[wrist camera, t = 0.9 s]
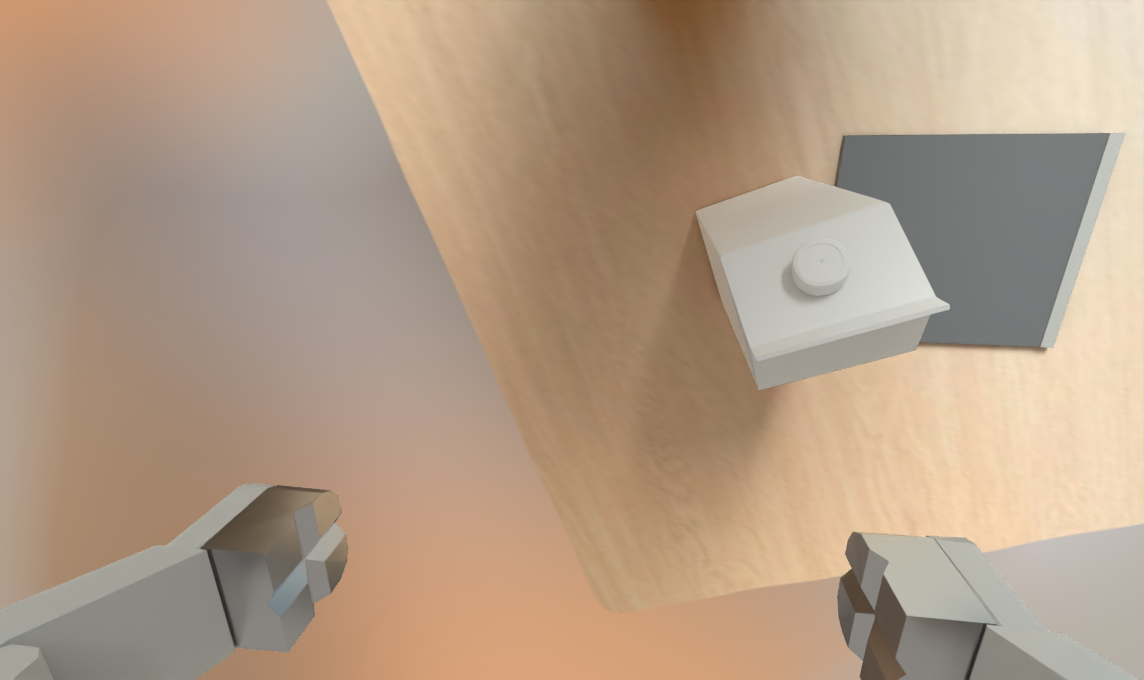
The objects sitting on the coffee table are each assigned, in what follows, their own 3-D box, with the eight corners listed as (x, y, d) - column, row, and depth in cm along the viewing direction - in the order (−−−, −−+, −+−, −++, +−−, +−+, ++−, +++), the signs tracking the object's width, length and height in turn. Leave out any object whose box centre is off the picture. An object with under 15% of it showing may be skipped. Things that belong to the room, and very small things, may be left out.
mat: (843, 135, 35) (846, 135, 35) (1118, 133, 33) (1125, 133, 33) (811, 336, 40) (813, 338, 40) (1048, 345, 38) (1053, 347, 38)
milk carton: (820, 271, 38) (963, 389, 21) (721, 301, 40) (776, 434, 23) (798, 174, 36) (935, 213, 19) (694, 210, 38) (731, 277, 20)
